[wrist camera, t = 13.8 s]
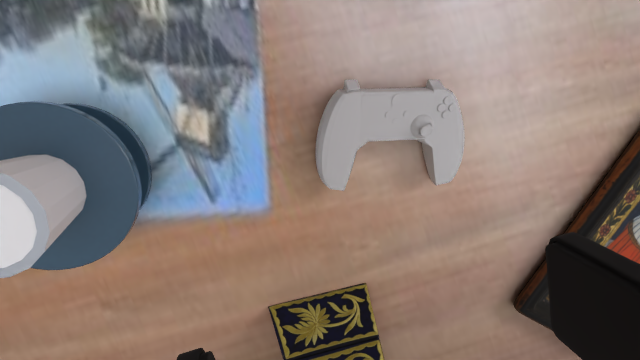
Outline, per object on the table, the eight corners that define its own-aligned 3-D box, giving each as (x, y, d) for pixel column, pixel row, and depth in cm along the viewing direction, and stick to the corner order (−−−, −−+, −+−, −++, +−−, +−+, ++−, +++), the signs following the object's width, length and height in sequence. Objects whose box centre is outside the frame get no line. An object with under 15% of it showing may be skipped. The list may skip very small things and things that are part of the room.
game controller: (318, 198, 36) (320, 90, 31) (311, 176, 39) (312, 77, 35) (464, 189, 38) (486, 86, 33) (444, 169, 42) (462, 75, 37)
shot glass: (-25, 157, 28) (-115, 184, 21) (74, 136, 28) (19, 154, 22) (16, 244, 29) (-54, 293, 23) (108, 221, 30) (67, 263, 23)
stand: (-31, 119, 32) (-95, 129, 26) (125, 80, 33) (97, 81, 28) (39, 255, 36) (-3, 291, 30) (177, 216, 37) (163, 243, 31)
